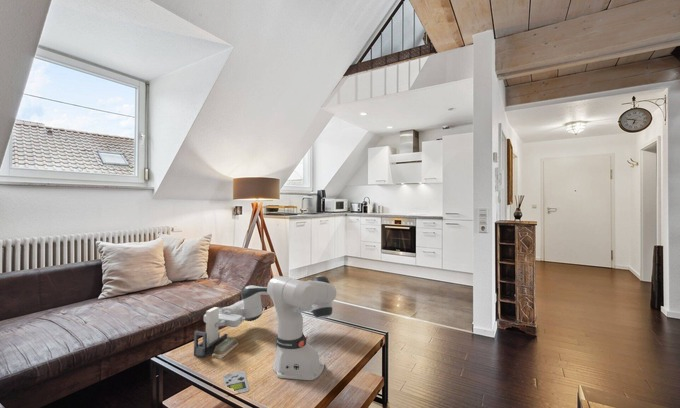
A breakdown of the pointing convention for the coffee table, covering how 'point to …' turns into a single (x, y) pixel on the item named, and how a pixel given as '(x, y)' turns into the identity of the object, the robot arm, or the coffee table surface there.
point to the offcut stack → (224, 348)
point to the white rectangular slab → (212, 324)
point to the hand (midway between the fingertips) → (212, 325)
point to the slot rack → (205, 344)
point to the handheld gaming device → (236, 381)
